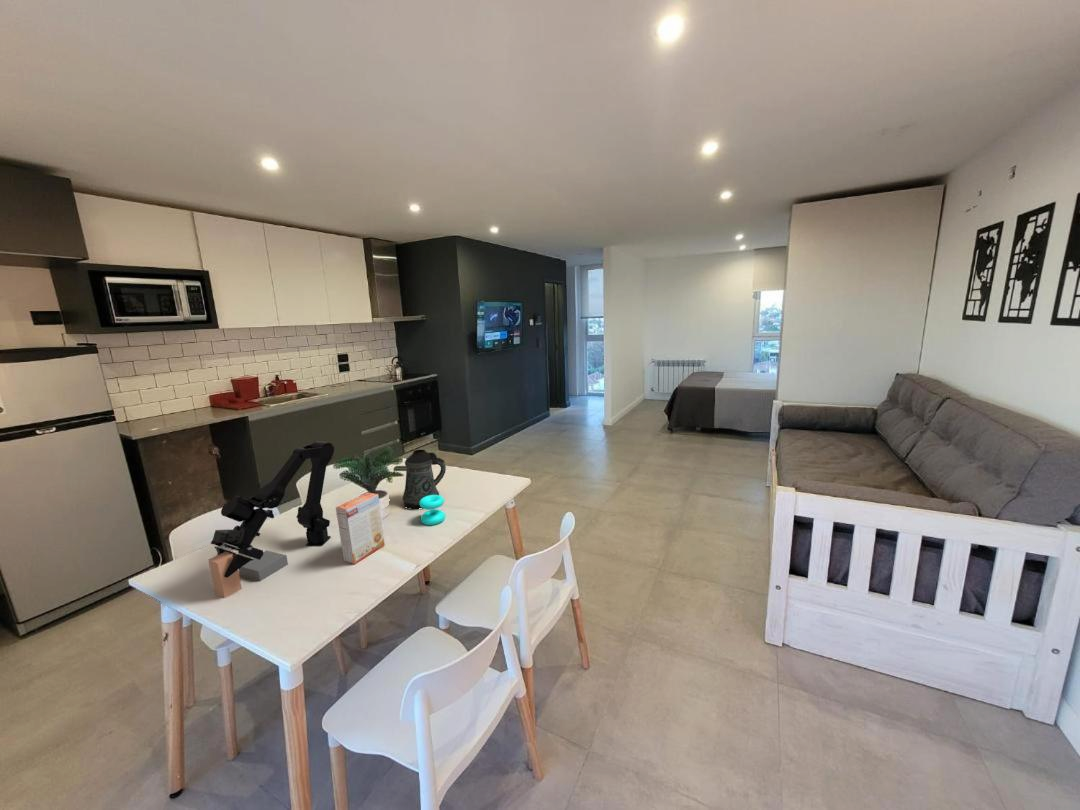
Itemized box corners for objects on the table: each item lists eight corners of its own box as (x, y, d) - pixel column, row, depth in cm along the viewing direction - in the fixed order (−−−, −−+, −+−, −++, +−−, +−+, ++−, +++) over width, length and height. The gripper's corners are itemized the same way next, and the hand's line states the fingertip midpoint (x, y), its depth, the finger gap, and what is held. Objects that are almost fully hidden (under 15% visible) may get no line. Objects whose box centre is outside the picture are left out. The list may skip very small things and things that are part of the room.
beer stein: (397, 502, 194) (391, 451, 189) (434, 490, 207) (430, 442, 202) (412, 513, 182) (407, 459, 177) (451, 500, 195) (447, 449, 190)
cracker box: (374, 542, 160) (368, 491, 155) (385, 545, 157) (379, 493, 153) (342, 561, 147) (334, 506, 143) (354, 565, 145) (346, 509, 140)
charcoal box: (268, 560, 150) (266, 550, 149) (288, 565, 146) (286, 555, 145) (240, 576, 141) (238, 565, 140) (260, 582, 137) (258, 571, 136)
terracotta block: (232, 584, 136) (225, 551, 133) (241, 588, 134) (235, 554, 131) (215, 593, 131) (208, 559, 129) (224, 597, 129) (217, 563, 127)
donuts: (417, 496, 176) (441, 492, 180) (419, 517, 178) (443, 513, 182) (420, 505, 167) (445, 501, 171) (422, 528, 169) (447, 523, 173)
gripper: (211, 513, 135) (178, 561, 127) (247, 523, 127) (213, 575, 120) (241, 524, 144) (211, 570, 136) (276, 534, 136) (246, 584, 128)
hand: (220, 575), depth 130 cm, fingers open, 6 cm apart
